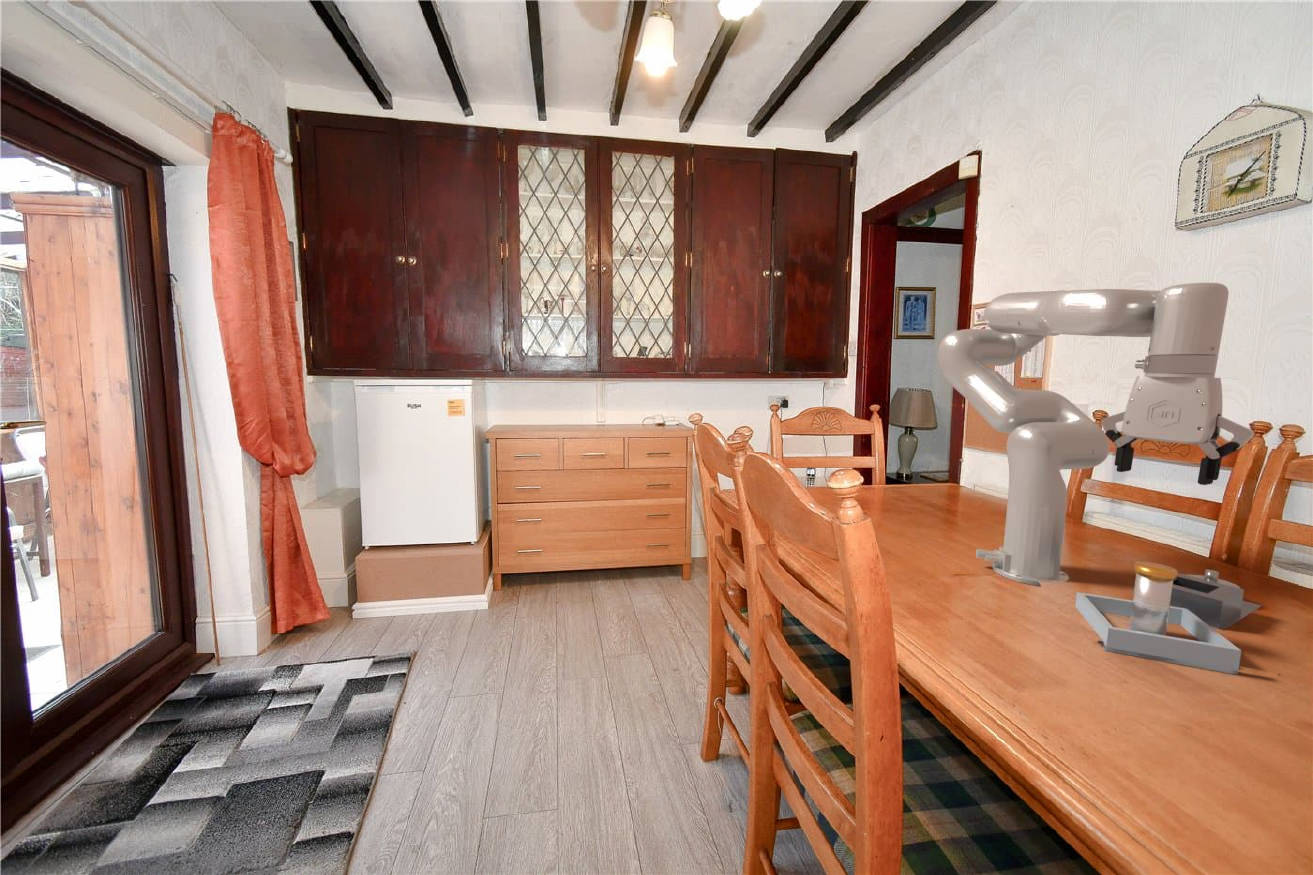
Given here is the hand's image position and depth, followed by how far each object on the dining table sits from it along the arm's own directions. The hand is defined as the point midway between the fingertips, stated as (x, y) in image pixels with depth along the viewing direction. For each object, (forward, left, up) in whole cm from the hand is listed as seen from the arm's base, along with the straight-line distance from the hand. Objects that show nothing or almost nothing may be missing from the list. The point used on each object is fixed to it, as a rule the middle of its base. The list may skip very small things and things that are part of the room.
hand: (1162, 477), depth 79 cm
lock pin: (-2, -6, -24) cm, 25 cm away
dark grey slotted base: (+11, +12, -25) cm, 29 cm away
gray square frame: (-2, -6, -25) cm, 25 cm away
